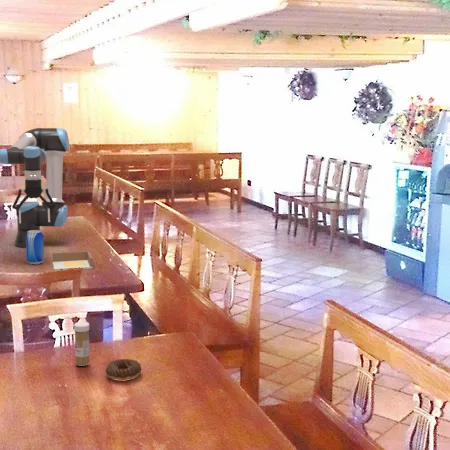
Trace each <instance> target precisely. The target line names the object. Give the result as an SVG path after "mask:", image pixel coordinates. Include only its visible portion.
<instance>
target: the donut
mask: <svg viewBox="0 0 450 450" xmlns="http://www.w3.org/2000/svg"><path fill="white" fill-rule="evenodd" d="M141 372H142V365H141V363H139V362H138V360H135V359H129V358H127V359H126V358H123V359H121V358H120V359H118V358H117V359H114V360H112V361H111V362H110V363H108V364H107V366H106V368H105V374H106V376H107V377H108V378H109V377H110V378H112V379H118V380H127V379H132V378H134V377H136V376H138V375H139V374H140V375H141ZM140 375H139V376H140ZM139 376H138V377H139ZM110 378H109V379H110ZM112 379H111V380H112Z"/></svg>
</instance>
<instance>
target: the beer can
mask: <svg viewBox="0 0 450 450" xmlns="http://www.w3.org/2000/svg"><path fill="white" fill-rule="evenodd" d="M27 232H28V233H27V235H26V248H25V250H26V251H25V252H26V254H25V255H26V263H28V264H29V265H32V264H36V265H41V264H40V263H42V264H43V263H44V261H45V245H44V244H45V242H44V237H45V236H44V234H43V232H42V230H30V231H27Z"/></svg>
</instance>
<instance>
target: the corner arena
mask: <svg viewBox="0 0 450 450" xmlns="http://www.w3.org/2000/svg"><path fill="white" fill-rule="evenodd" d="M51 256H52V257H51V259H52V261H51V262H52V267H53V266H54V267H53V271H54V270H57V271H59V270H58V269H67V268H79V267H80V268H83V269H82V270H86V269H89V270H90V269H93V267H94V266H93V264H94V262H93V259H94V258H93V256H92V254H91V252H90V250H88V251H86V250H84V251H69V252H68V251H65V252H52V253H51Z"/></svg>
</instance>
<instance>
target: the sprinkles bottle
mask: <svg viewBox="0 0 450 450" xmlns="http://www.w3.org/2000/svg"><path fill="white" fill-rule="evenodd" d="M73 328H74V329H73V331H74V356H75V364H76V365H86V364H88V363H89V362H90V322H88V321H78V322H77V321H76V323H74V325H73ZM75 364H74V365H75ZM76 365H75V366H76Z"/></svg>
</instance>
